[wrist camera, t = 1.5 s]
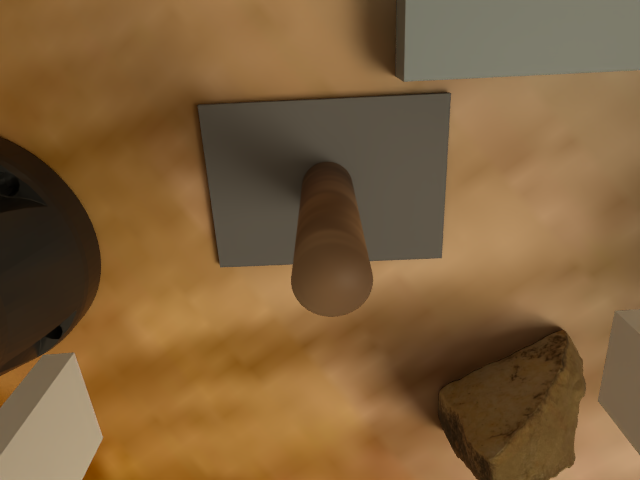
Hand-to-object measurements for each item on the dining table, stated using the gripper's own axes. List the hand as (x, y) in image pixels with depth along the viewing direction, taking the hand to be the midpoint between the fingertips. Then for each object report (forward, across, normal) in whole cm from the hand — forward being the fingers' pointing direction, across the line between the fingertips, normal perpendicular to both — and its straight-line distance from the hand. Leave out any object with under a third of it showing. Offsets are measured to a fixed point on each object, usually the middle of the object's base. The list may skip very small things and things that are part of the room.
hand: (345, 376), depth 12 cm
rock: (+18, +12, -16) cm, 27 cm away
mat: (+18, 0, -1) cm, 19 cm away
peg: (+18, 0, -1) cm, 18 cm away
